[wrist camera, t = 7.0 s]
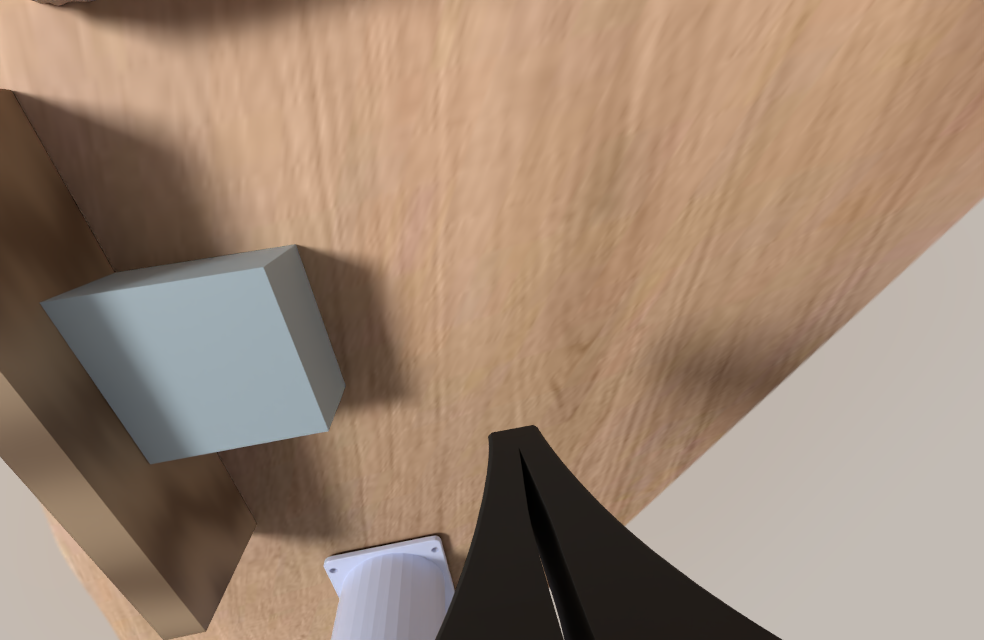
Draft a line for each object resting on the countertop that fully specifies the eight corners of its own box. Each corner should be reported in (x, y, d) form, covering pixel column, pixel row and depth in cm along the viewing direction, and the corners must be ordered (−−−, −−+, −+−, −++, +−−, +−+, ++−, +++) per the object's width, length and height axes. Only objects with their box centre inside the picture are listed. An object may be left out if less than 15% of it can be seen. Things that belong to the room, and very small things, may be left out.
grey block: (346, 383, 22) (328, 430, 18) (199, 409, 21) (150, 464, 17) (297, 243, 18) (263, 267, 15) (120, 270, 18) (39, 302, 14)
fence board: (256, 524, 25) (205, 631, 19) (224, 530, 24) (164, 640, 19) (11, 90, 14) (-249, 56, 9) (-47, 96, 14) (-347, 67, 9)
